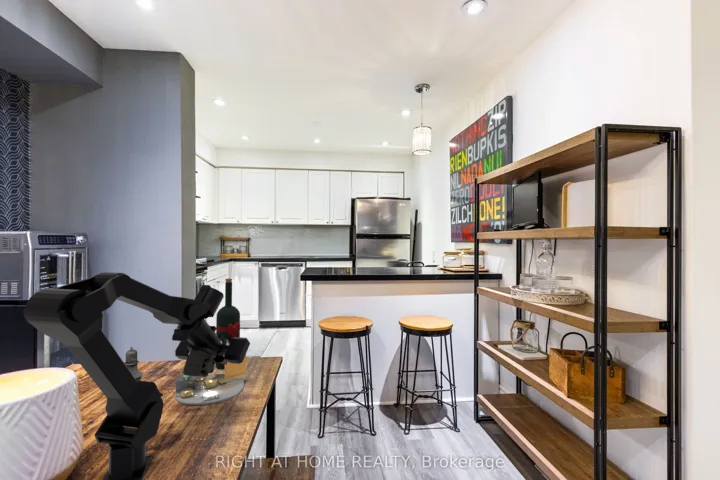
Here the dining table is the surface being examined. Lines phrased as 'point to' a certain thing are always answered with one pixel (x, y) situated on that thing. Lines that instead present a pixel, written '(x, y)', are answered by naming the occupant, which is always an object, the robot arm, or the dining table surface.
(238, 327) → the wine bottle
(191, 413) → the dining table surface
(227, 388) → the levelling plate
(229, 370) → the lever
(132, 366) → the grey chess bishop
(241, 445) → the dining table surface
